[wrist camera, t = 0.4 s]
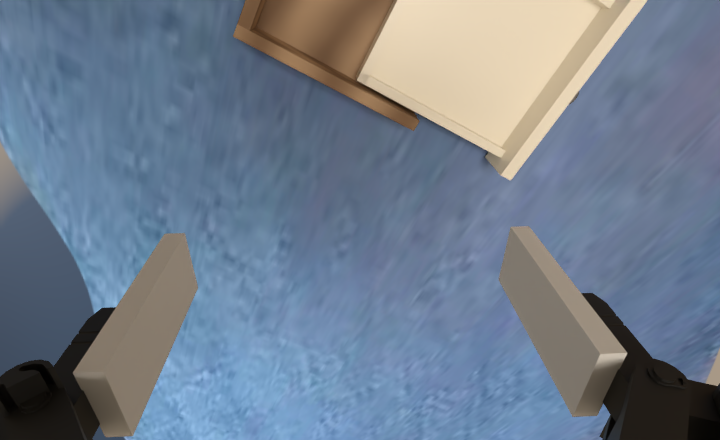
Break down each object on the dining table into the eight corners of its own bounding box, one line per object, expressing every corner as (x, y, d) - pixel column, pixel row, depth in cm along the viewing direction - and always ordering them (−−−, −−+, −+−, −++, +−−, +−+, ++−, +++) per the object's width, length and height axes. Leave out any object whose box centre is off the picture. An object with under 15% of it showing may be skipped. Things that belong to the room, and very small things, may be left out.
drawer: (349, 85, 39) (351, 97, 34) (456, -128, 31) (474, -145, 27) (501, 165, 43) (518, 184, 39) (624, -2, 36) (661, 0, 32)
